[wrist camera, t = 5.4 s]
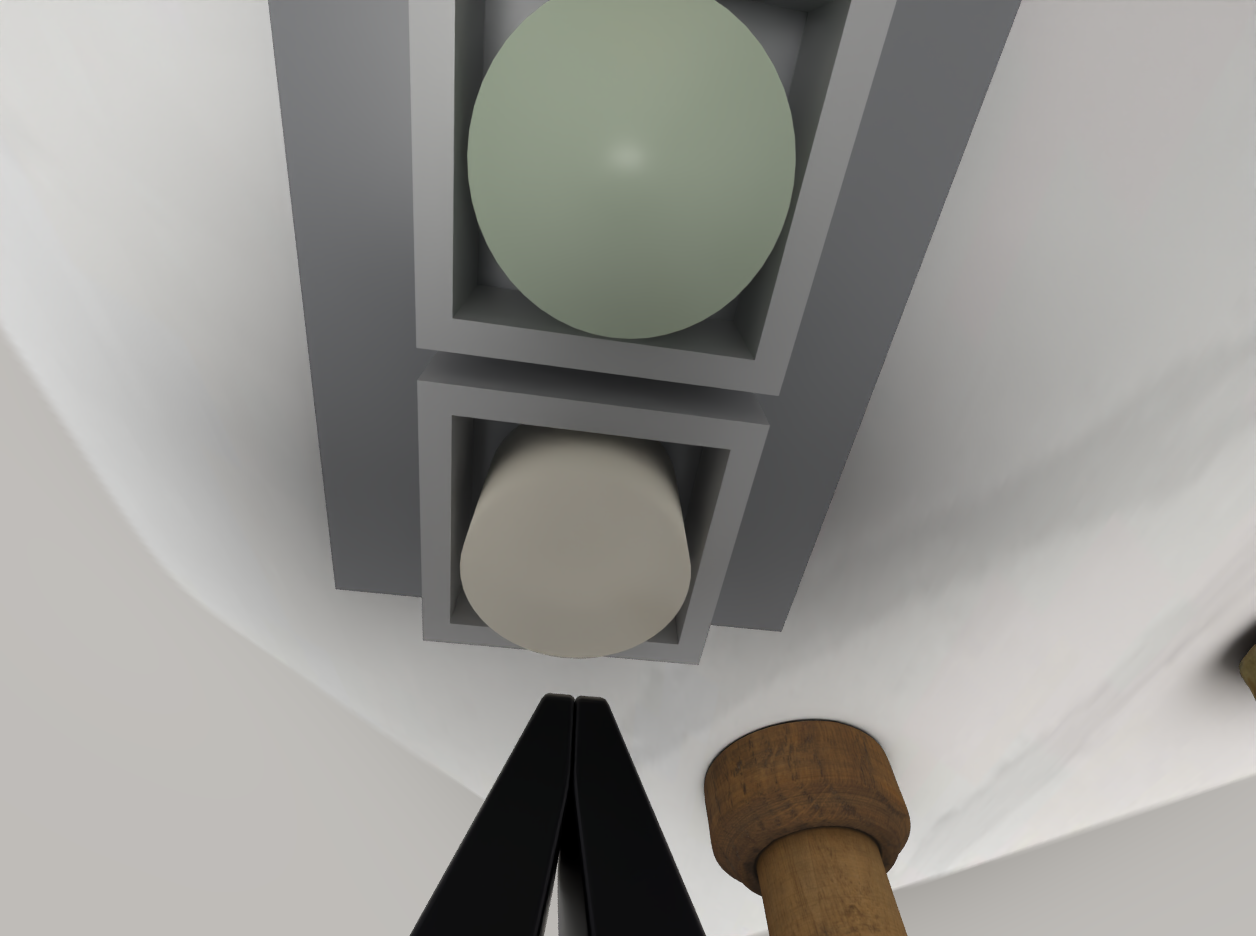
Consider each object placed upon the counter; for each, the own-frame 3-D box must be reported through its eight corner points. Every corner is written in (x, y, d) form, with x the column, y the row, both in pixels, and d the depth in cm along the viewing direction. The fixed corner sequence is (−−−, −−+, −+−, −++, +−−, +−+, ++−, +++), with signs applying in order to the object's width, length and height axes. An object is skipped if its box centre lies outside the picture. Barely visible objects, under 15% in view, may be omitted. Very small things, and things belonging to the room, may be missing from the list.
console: (1288, -821, 7) (1719, -1407, 4) (773, 606, 18) (802, 697, 15) (176, -1216, 6) (-201, -2354, 3) (349, 564, 17) (299, 654, 14)
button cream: (694, 420, 14) (713, 495, 11) (659, 574, 16) (668, 666, 13) (491, 394, 13) (461, 466, 11) (484, 556, 15) (458, 648, 13)
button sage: (781, 35, 10) (840, 13, 7) (720, 302, 12) (749, 356, 10) (509, -16, 10) (470, -59, 7) (496, 270, 12) (464, 317, 9)
